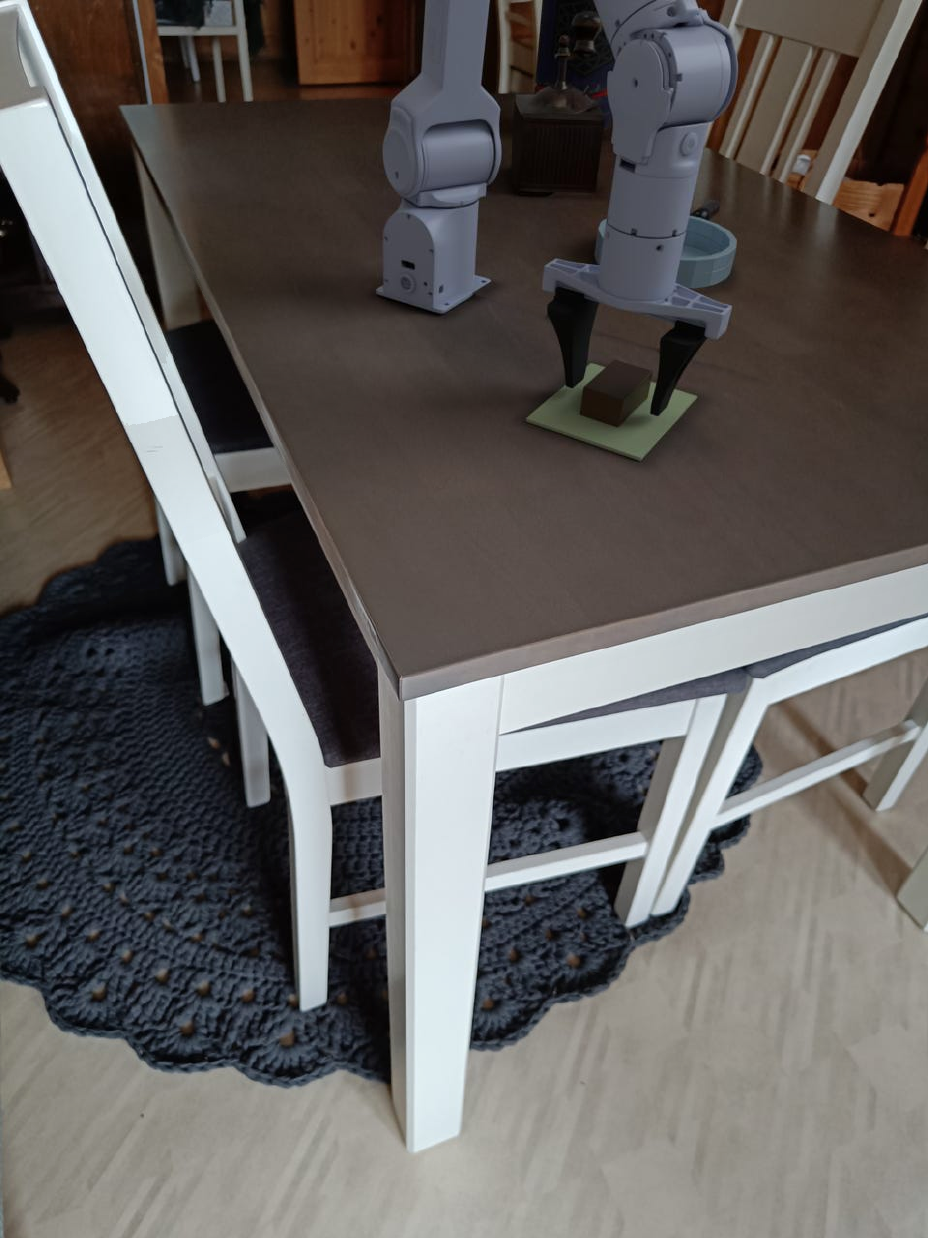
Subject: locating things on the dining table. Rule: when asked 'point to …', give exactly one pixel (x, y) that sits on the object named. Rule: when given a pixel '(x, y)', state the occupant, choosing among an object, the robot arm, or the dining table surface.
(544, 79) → the dark blue tall block
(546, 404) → the cloth
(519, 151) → the vintage coffee grinder
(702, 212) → the pan handle
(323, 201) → the dining table surface
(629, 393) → the chocolate
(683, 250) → the pan
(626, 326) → the dining table surface
